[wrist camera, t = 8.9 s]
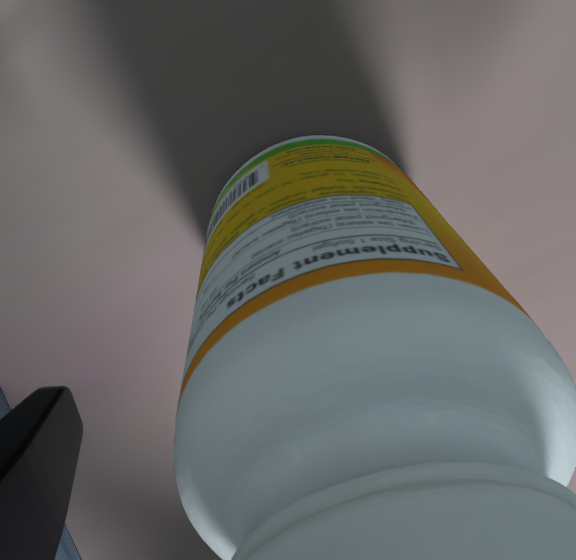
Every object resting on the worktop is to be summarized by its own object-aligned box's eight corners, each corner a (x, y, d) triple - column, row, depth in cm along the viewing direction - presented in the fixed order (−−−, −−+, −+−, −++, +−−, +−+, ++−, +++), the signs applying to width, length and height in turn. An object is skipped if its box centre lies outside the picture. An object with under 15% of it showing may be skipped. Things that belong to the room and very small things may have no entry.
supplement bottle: (410, 309, 14) (658, 800, 5) (225, 328, 13) (188, 861, 5) (425, 119, 11) (1011, 543, 2) (191, 140, 11) (-6, 662, 2)
